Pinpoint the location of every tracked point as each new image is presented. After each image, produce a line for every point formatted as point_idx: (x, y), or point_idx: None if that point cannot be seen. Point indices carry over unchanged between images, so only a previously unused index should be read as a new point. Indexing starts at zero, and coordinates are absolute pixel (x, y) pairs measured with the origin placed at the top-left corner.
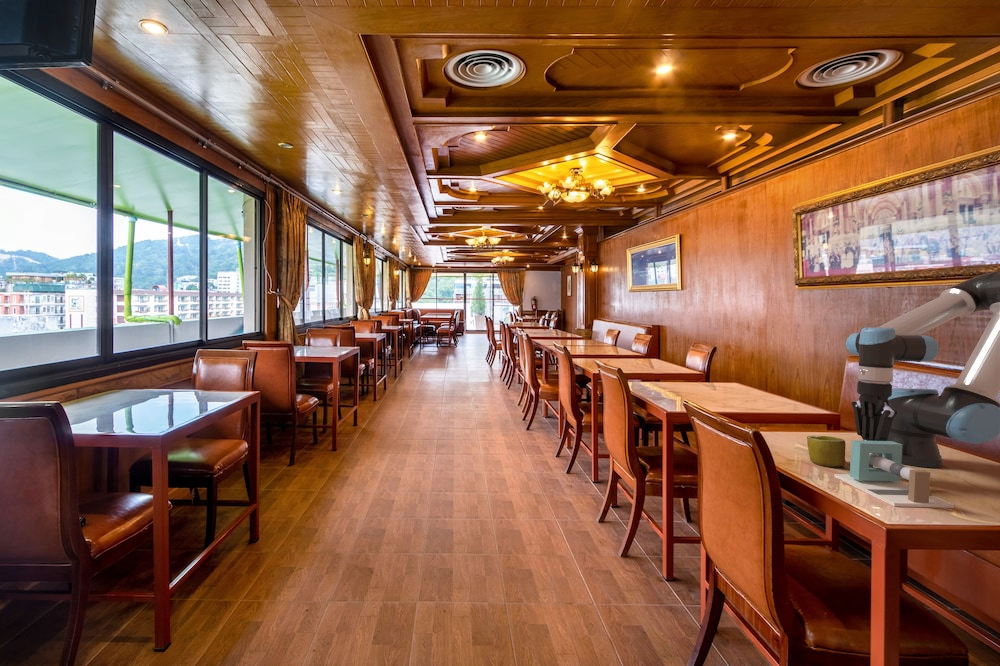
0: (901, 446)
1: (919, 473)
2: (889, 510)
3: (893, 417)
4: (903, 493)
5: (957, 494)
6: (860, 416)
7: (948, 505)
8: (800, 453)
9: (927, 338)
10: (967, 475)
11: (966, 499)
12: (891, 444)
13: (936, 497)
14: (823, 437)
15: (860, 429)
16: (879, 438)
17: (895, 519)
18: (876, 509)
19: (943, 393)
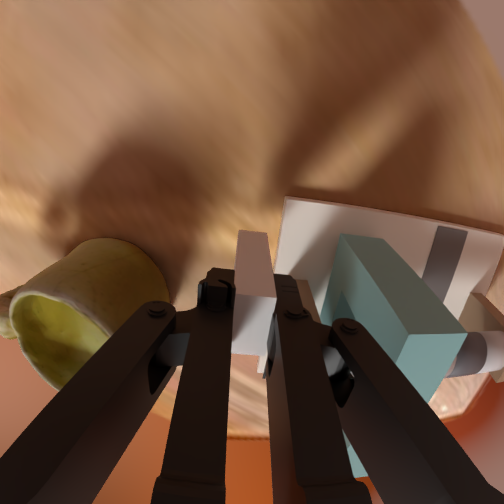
0: (460, 330)
1: None
2: (448, 383)
3: (492, 492)
4: None
5: (451, 91)
6: (101, 467)
7: (500, 250)
8: (19, 285)
9: None
10: None
11: (480, 116)
12: (438, 384)
13: (475, 232)
14: (15, 311)
15: (161, 386)
16: (353, 384)
17: (465, 395)
18: (435, 400)
19: None
